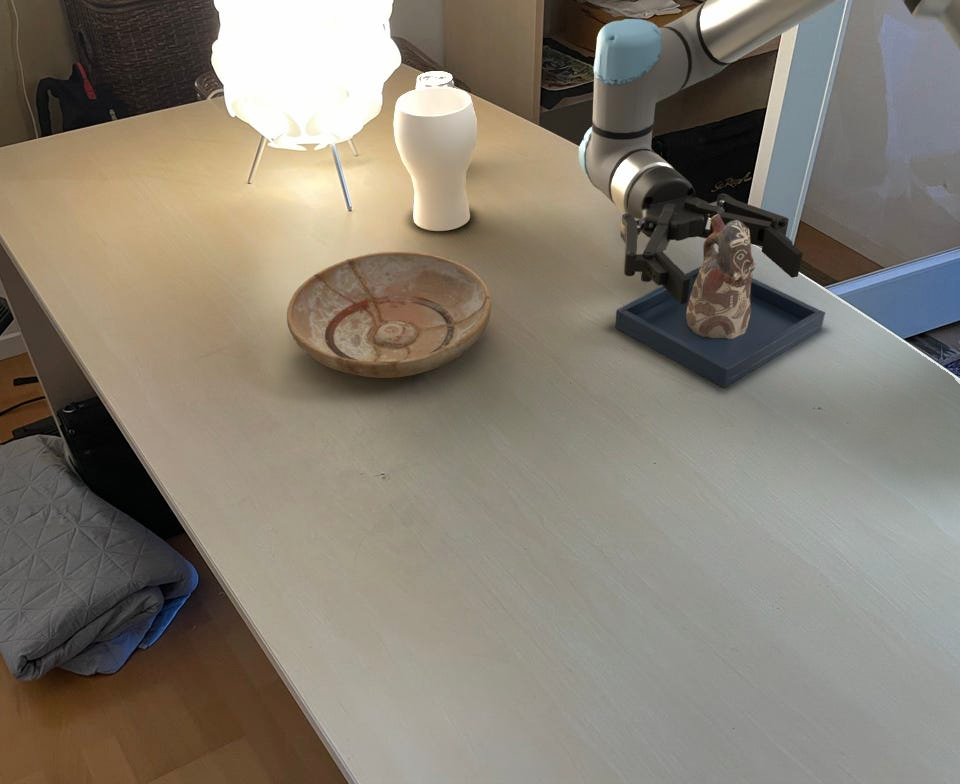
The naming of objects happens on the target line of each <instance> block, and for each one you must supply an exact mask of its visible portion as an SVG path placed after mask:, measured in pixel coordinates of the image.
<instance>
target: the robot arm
mask: <svg viewBox="0 0 960 784" xmlns="http://www.w3.org/2000/svg"><path fill="white" fill-rule="evenodd" d="M840 1H841V0H706V1H704V2H702V3H701V4H699V5H697V6H696V7H694V8H693V9H692V10H690V11H689V12H687V13H686V14H684V15H682V16H680V17H679V18H677V19H675V20H673V21H671V22H669V23H667V24H664V25H663V26H660V27H658V26H657V24H655V23H654V22H651V21H649V20H645V19H640V18H625V19H623V20H614V21H611V22H609V23H607V24H605V25H604V26H603V27H601V29H600V30H599V32H598V34H597V37H596V49H595V58H594V63H593V67H592V68H593V75H594V76H593V101H592V125H591V127H589V129H588V130H586V132H585V133H584V135H583V138H582V140H581V142H580V144H579V147H578V162H579V166H580V168H581V170H582V171H583V172H582V173H584V174H585V176H586V177H587V178H588V180H589V182H590V183H591V184H592V186H593V187H594V188H596V189H597V190H598V191H600V192H601V193H602V194H603V195H604V196H605V197H606V198H607V199H608V200H610V202H611V203H613V204H614V206H615V207H617V208H618V209H619V210H620V211H621V213H622V215H621V220H620V221H621V222H620V223H621V224H620V238H621V239H622V241H623V242H624V244H625V245H624V270H623V274H624V275H625V276H626V277H633V276H635V275H636V273H638V272H639V273H641V274H640V281H641V282H643V283H649V282H651V281H652V282H653V283H654V284H655V285H656V286H664V287H665V288H666V289H667V290H668V291H669V292H670V293H671V294H672V295H673V297H674V298H675V299H676V300H677V301H678V302H679V303H680V304H684V303H687V300H688V292H689V284H690V279H689V278H688V277H687V276H686V275H685V274H686V273H685V272H684V271H683V270H682V269H680V268H679V266H678V265H676V264H675V263H674V262H673V261H672V260H671V258H670V257H668V255H667V254H665V252H664V251H666V250H667V248H668V245H669V243H670V242H671V241H676V242H679V241H684V240H686V239H690V238H696V237H698V238H702V239H705V240H706V239H707V238H708V237H709V236H710V235H711V234H712V233H713V232H714V231H713V227H712V224H711V223H710V225H709V229H707V225H708V222H709V218H710V217H711V218H712V217H713V216H715V215H717V214H719V215H720V217H721V219H722V221H723V223H724V225H726V224H727V223H729V222H731V221H734V220H739V221H741V222H742V223H743V224H744V225H745V226H746V227H747V228H748V229H749V231H750V244H751V245H754V246H758V247H761V253H762V254H764V256H766V257H767V258H768V259H770V261H772V262H773V263H774V264H775V265H776V266H777V267H779V268H780V269H781V270H782V271H783V272H784V273H786V275H788V276H789V277H790V278H791V279H794V278H797V277H799V275H800V274H799V273H800V269H801V264H802V260H803V255H804V253H803V252H802V251H801V250H800V249H798V248H797V247H796V246H795V245H794V244H793V240H792V239H790V238H789V237H788V236H787V232H788V227H789V218H788V217H786V216H783V215H780V214H777V213H774V212H773V211H772V212H771V211H769V210H767V209H764V208H760V207H757V206H754V205H751V204H749V203H745V202H742V201H740V200H736V199H735V198H733V197H732V196H730V195H729V194H727V193H719V194H717V199H716V201H714V202H707V201H706V200H703V199H700V198H699V197H698V195H697V194H696V191H695V189H694V186H693V184H692V183H691V182H690V181H689V180H688V179H687V178H686V177H684V176H683V174H681V173H680V172H679V171H677V170H676V169H675V168H674V167H673V166H672V165H671V164H670V163H668V162H667V161H666V160H665V159H664V158H662V157H661V156H660V155H659V154H658V153H657V152H656V151H655V150H653V149H652V139H653V131H654V124H655V110H656V104H657V103H659V102H661V101H662V100H664V99H667V98H669V97H671V96H672V95H675V94H677V93H679V92H680V91H683V90H684V89H687V88H689V87H690V86H694V85H695V84H698V83H699V82H701V81H705V80H708V79H710V78H711V77H714V76H715V75H717V74H719V73H720V72H721V71H722V70H724V69H725V68H726V67H727V66H729V65H731V64H732V63H733V62H735V61H737V60H739V59H741V58H742V57H744V56H746V55H747V54H749V53H751V52H753V51H755V50H756V49H758V48H759V47H761V46H763V45H765V44H767V43H769V42H771V41H772V40H774V39H776V38H778V37H780V36H781V35H782V34H784V33H786V32H788V31H790V30H791V29H793V28H795V27H796V26H798V25H800V24H802V23H803V22H806V21H807V20H809V19H810V18H812V17H814V16H816V15H817V14H820V13H821V12H822V11H824V10H826V9H828V8H830V7H831V6H833V5H835V4H836V3H838V2H840ZM902 2H903V3H904V5H905V7H906V8H907V10H908V11H909V13H910V14H911V16H912V17H913V19H914V20H923V21H924V20H926V21H936V22H939V23H940V24H941V25H942V26H943V28H944V29H945V31H946V32H947V34H948V35H949V37H950V39H951V40H952V42H953V44H954V45H955V47H956V48H957V50H958V52H960V0H902ZM711 218H710V219H711ZM641 233H642V234H643V235H644V236H645V237H647V238H649V240H648V242H647V243H646V245H645V246H644V247H645V248H644V249H643V251H642V253H638V237H639V235H641Z"/></svg>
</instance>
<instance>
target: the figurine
mask: <svg viewBox="0 0 960 784" xmlns="http://www.w3.org/2000/svg"><path fill="white" fill-rule="evenodd" d="M710 224H712V227H713V231H714V232H713V233H712V234H711V235H710V236H709V237H708V238H707V239H706V238H705V240H704V242H703V247H702V249H703V262H702V264H701V266H702V267H701V266H700V267H701V268H700V270H699V272H698V275H697V278H696V280H695V283H694V286H693V289H692V292H691V296H690V300H689V303H688V307H687V313H686V317H687V325H688V326H689V327H690V329H691V330H692V331H693V332H694V333H696V334H698V335H700V336H702V337H709V338H727V339H733V338H735V337H737V336H739V335H742V334H744V333H745V331H746V328H747V325H748V322H749V319H750V314H751V303H750V297H751V282H752V278H753V271H755V270H756V269H757V268H756V267H757V265H756V262H754V258H753V255H752V244H750V231H749V229H748V228H747V227H746V226H745V225H744V224H743V223H742V222H741V221H739V220H734V221H731V222H729V223H727V224H726V225H724V223H723V221H722V219H721V217H720V215H719V214H717V215H715V216H713V217H712V218H710ZM715 245H717V247H718V248H717V251H716V248H715Z"/></svg>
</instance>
